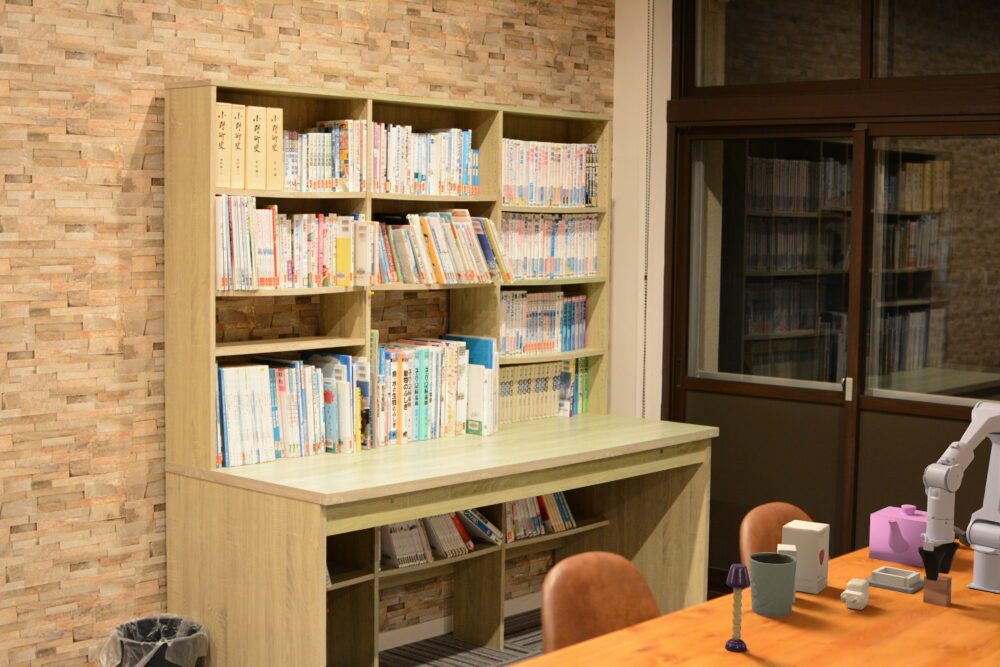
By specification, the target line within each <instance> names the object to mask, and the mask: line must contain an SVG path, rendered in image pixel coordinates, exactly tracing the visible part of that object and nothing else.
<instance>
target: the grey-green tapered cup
mask: <svg viewBox="0 0 1000 667" xmlns="http://www.w3.org/2000/svg"><path fill="white" fill-rule="evenodd" d="M748 560H749V564H748V565H749V571H750V573H749V574H750V576H749V579H750V588H751V589H750V592H751V593H750V594H751V595H750V599H751V602H750V603H751V611H752V612H753V613H754V614H757V615H758V616H763V617H768V618H784V617H788V616H791V614H792V611H793V603H792V600H793V591H794V581H795V578H794V577H795V571H796V563H797V559H796V558H795V557H793V556H791V555H787V554H782V553H777V552H771V551H765V552H764V551H763V552H755V553H752V554H750V555H749V557H748Z"/></svg>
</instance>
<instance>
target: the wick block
mask: <svg viewBox="0 0 1000 667" xmlns="http://www.w3.org/2000/svg"><path fill="white" fill-rule="evenodd" d="M923 579H924V587H923V597H922V603H925V604H931V605H935V606H941V607H947V606H949V605H950V604H952V585H953V584H952V583H953V582H952V581H953V580H952V579H953V577H951V576H948V575H947V576H946V575H943V574H941V575H940V574H939V575H938V579H937V581H933V580H927V578H926V575H924V577H923Z"/></svg>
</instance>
